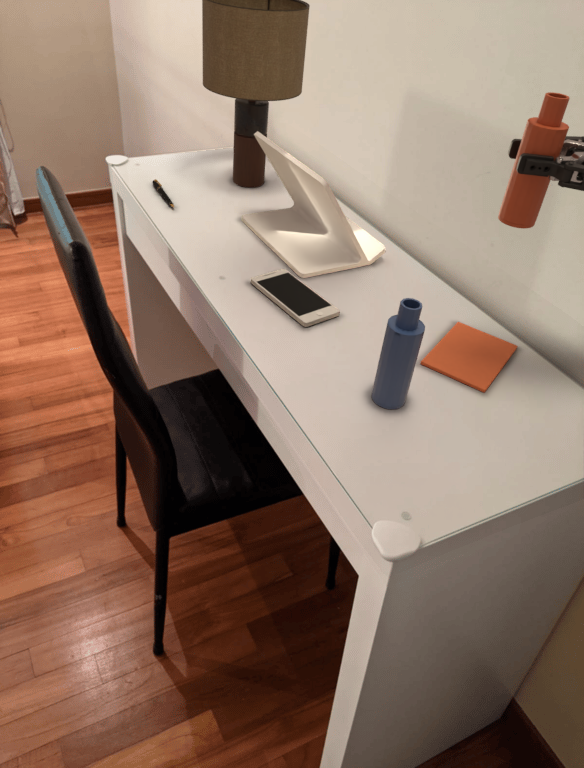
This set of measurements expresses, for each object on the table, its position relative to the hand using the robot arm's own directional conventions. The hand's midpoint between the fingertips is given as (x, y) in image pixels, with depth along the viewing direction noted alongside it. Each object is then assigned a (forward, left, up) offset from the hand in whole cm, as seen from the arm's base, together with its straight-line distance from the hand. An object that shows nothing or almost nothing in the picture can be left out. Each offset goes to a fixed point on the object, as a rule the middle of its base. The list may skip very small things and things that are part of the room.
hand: (514, 155), depth 73 cm
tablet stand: (+37, -16, -30) cm, 50 cm away
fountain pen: (+70, -11, -30) cm, 77 cm away
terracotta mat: (-2, -1, -30) cm, 30 cm away
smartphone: (+27, +4, -30) cm, 40 cm away
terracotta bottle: (-2, -1, -8) cm, 8 cm away
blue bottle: (+3, +16, -30) cm, 34 cm away
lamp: (+63, -30, -30) cm, 76 cm away
